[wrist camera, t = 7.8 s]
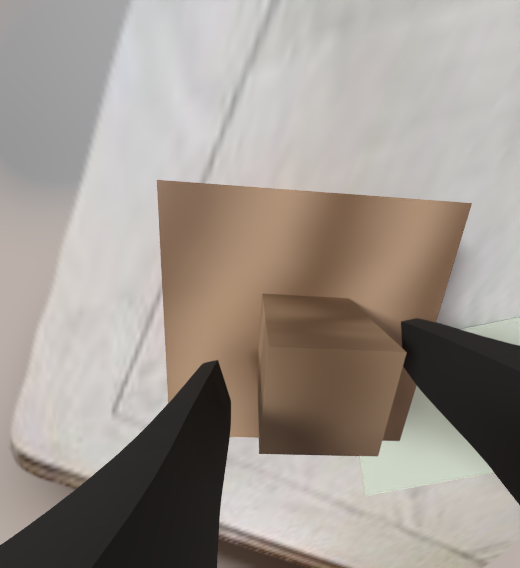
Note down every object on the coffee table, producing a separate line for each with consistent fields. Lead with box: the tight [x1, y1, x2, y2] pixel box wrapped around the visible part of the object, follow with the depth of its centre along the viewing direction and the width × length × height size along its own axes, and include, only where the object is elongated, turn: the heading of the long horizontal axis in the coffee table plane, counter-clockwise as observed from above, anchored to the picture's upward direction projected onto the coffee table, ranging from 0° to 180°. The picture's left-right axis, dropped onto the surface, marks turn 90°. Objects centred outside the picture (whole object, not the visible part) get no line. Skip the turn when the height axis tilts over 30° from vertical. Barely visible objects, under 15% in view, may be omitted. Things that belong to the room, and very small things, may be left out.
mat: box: [359, 317, 520, 496], centre depth 20 cm, size 15×15×1 cm
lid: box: [157, 180, 472, 456], centre depth 10 cm, size 13×13×5 cm
